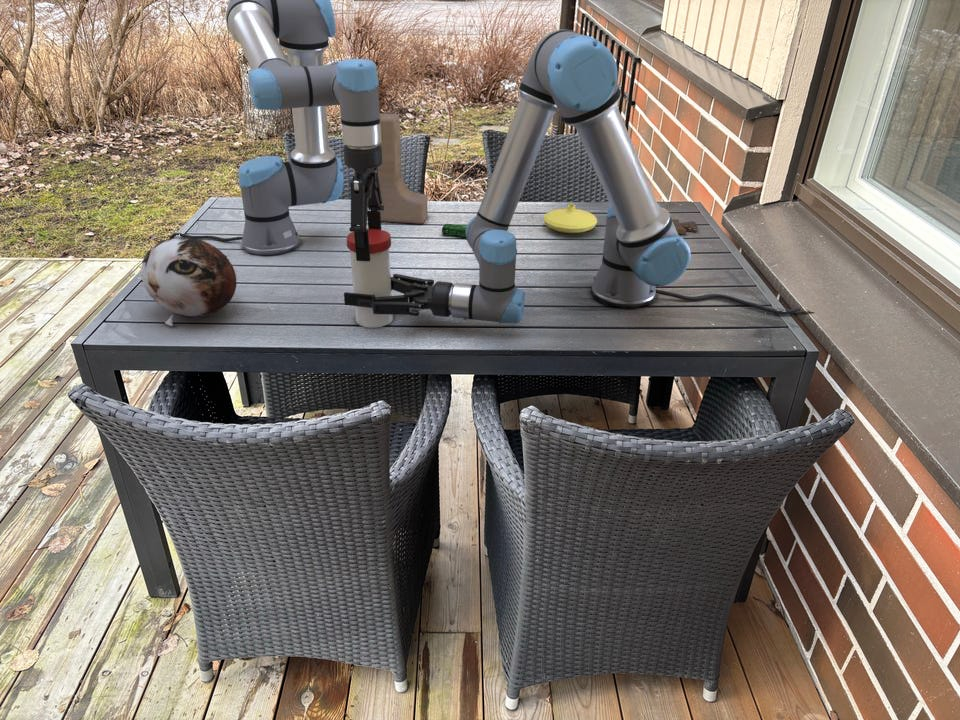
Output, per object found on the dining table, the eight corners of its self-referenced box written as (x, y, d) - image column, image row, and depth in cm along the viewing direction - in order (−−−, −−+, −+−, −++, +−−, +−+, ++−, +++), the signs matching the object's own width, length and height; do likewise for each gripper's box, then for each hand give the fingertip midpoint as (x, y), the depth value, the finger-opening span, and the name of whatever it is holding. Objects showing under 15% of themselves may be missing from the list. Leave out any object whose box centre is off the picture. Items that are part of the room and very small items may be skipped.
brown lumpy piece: (700, 236, 208) (693, 224, 217) (701, 230, 207) (694, 219, 216) (612, 233, 208) (607, 221, 217) (613, 227, 207) (608, 216, 216)
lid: (346, 254, 147) (345, 245, 146) (347, 238, 155) (346, 229, 154) (391, 253, 148) (391, 243, 147) (390, 237, 156) (390, 227, 155)
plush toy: (103, 301, 154) (138, 216, 155) (170, 324, 169) (201, 246, 171) (169, 326, 143) (206, 234, 145) (233, 348, 159) (266, 265, 160)
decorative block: (423, 224, 212) (420, 120, 197) (373, 221, 214) (367, 118, 199) (428, 216, 219) (425, 114, 203) (380, 213, 220) (374, 112, 205)
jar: (355, 328, 156) (348, 246, 146) (356, 311, 163) (349, 232, 154) (393, 326, 157) (389, 245, 147) (392, 309, 164) (388, 230, 155)
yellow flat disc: (559, 216, 220) (561, 193, 217) (605, 227, 212) (608, 204, 209) (532, 230, 209) (533, 207, 206) (580, 242, 201) (582, 218, 198)
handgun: (511, 219, 210) (493, 234, 198) (511, 228, 211) (492, 244, 199) (461, 212, 215) (440, 226, 203) (461, 221, 217) (440, 236, 204)
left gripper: (357, 130, 151) (365, 230, 162) (327, 159, 131) (337, 271, 142) (392, 132, 150) (397, 231, 161) (367, 161, 130) (375, 272, 142)
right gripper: (440, 338, 147) (336, 326, 151) (462, 295, 165) (368, 285, 168) (439, 305, 143) (332, 294, 147) (462, 264, 161) (366, 255, 165)
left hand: (369, 250), depth 152 cm, fingers open, 11 cm apart
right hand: (352, 289), depth 158 cm, fingers closed on jar, 8 cm apart
